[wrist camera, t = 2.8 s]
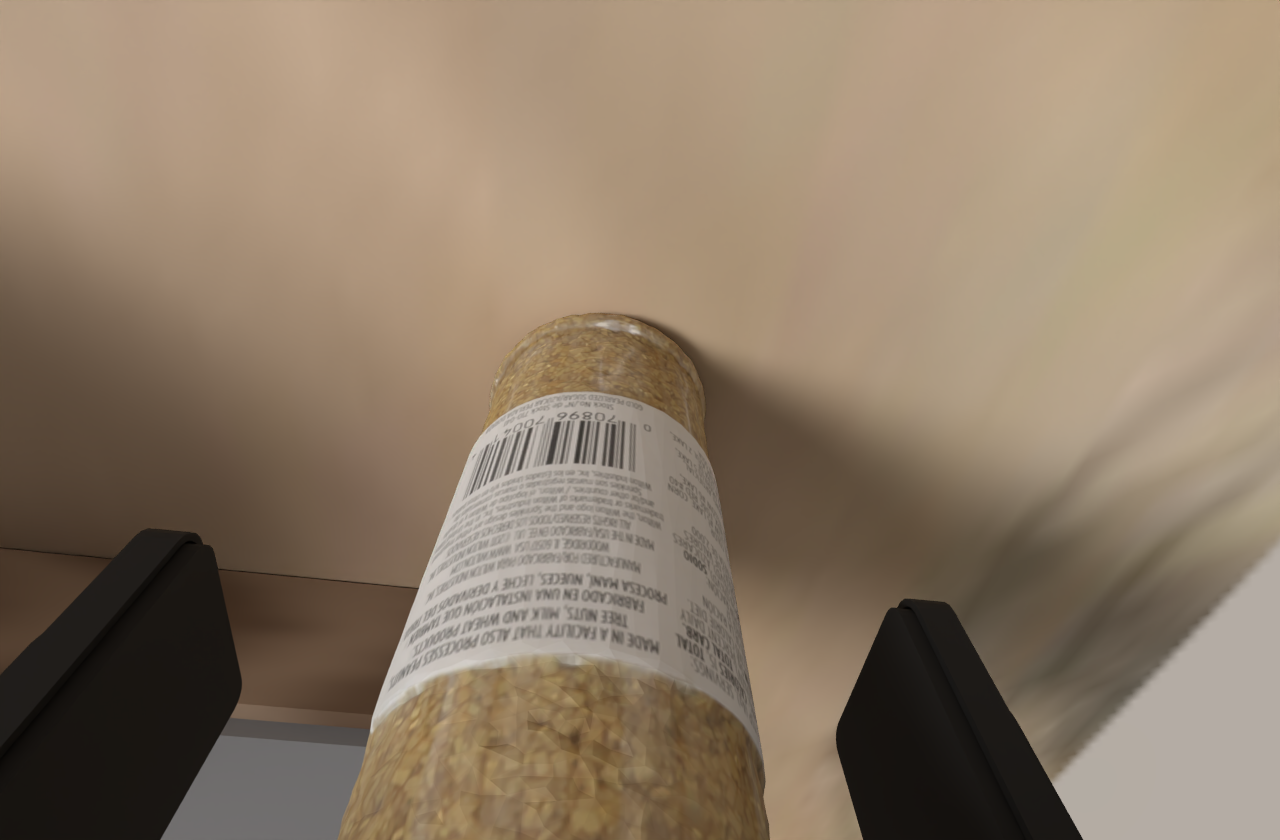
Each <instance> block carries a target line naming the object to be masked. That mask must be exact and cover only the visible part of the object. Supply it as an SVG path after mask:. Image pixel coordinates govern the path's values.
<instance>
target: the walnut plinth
mask: <svg viewBox="0 0 1280 840" xmlns="http://www.w3.org/2000/svg"><path fill="white" fill-rule="evenodd" d="M112 560H113V559H103V558H93V557H83V556H73V555H62V554H52V553H42V552H31V551H21V550H11V549H1V548H0V675H1V674H2V672H3V671H4V670H5V669H6V668H7V667H8V666H9V665H10V664H11V663H12V662H13V661H14V660H15V659H16V658H17V657H18V656H19V655H20V654H21V653H22V652H23V651H24V650H25V648H26V647H27V646H28V645H29V644H30V643H31V642H33V641H34V640H35V639H36V638H37V637H38V636H40V635H41V634H42V633H43V632H44V631H45V630H46V629H47V628H48V627H49V626H50V625H51V624H52V623H53V622H54V621H55V620H56V619H57V618H58V617H59V616H60V615H61V614H62V612H63V611H64V610H65V609H66V608H67V607H68V606H69V605H70V604H71V603H72V602H73V601H74V600H75V599H76V598H77V597H78V596H79V595H80V594H81V593H82V592H83V590H84V589H85V588H86V587H87V586H88V585H89V584H90V583H91V582H92V581H93V580H94V579H95V578H96V577H97V576H98V575H99V574H100V573H101V572H102V571H103V570H104V568H105V567H106V566H107V565H108V564H109V563H110V562H111V561H112ZM218 572H219V577H220V581H221V586H222V590H223V595H224V600H225V604H226V609H227V613H228V618H229V622H230V627H231V631H232V636H233V640H234V645H235V650H236V654H237V659H238V663H239V668H240V672H241V677H242V690H241V694H240V698H239V701H238V703H237V705H236V708H235V710H234V711H233V713H232V715H231V717H230V718H229V720H228V722H227V724H226V725H225V727H224V729H223V731H222V732H221V734H220V736H219V738H218V739H217V741H216V743H215V745H214V746H213V748H212V750H211V752H210V753H209V755H208V757H207V759H206V761H205V762H204V764H203V766H202V768H201V769H200V771H199V773H198V775H197V776H196V778H195V780H194V782H193V783H192V785H191V787H190V789H189V790H188V792H187V794H186V796H185V797H184V799H183V801H182V803H181V804H180V806H179V808H178V810H177V811H176V813H175V815H174V817H173V818H172V820H171V822H170V824H169V825H168V827H167V829H166V831H165V832H164V834H163V836H162V838H161V839H160V840H337V839H338V836H339V832H340V827H341V822H342V818H343V815H344V813H345V810H346V808H347V805H348V803H349V800H350V797H351V794H352V790H353V788H354V785H355V783H356V781H357V778H358V776H359V773H360V771H361V768H362V763H363V759H364V755H365V750H366V746H367V742H368V738H369V734H370V728H371V721H372V716H373V713H374V710H375V707H376V704H377V701H378V698H379V695H380V692H381V689H382V686H383V684H384V681H385V678H386V676H387V673H388V670H389V668H390V665H391V662H392V660H393V657H394V654H395V652H396V649H397V647H398V644H399V642H400V639H401V636H402V633H403V631H404V628H405V625H406V622H407V619H408V616H409V614H410V611H411V608H412V606H413V603H414V601H415V598H416V595H417V592H418V590H419V589H412V588H401V587H391V586H381V585H371V584H360V583H350V582H340V581H329V580H319V579H309V578H299V577H288V576H278V575H268V574H258V573H247V572H237V571H227V570H218Z"/></svg>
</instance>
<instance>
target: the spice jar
mask: <svg viewBox="0 0 1280 840" xmlns="http://www.w3.org/2000/svg"><path fill="white" fill-rule="evenodd" d="M489 410H490V412H489V415H488V417H487V420H486V422H485V424H484V428H483V431H482V434H481V436H480V437H479V438H478V440H477V441H476V443H475V444H474V446H473V448H472V450H471V452H470V455H469V457H468V460H467V463H466V465H465V468H464V470H463V473H462V476H461V478H460V481H459V484H458V486H457V489H456V491H455V494H454V497H453V500H452V502H451V505H450V507H449V510H448V513H447V516H446V519H445V521H444V524H443V526H442V528H441V531H440V534H439V536H438V539H437V542H436V544H435V547H434V550H433V552H432V555H431V558H430V560H429V563H428V565H427V568H426V571H425V573H424V576H423V578H422V581H421V584H420V587H419V590H418V592H417V595H416V598H415V601H414V603H413V606H412V608H411V611H410V614H409V616H408V619H407V622H406V625H405V628H404V631H403V633H402V636H401V639H400V642H399V644H398V647H397V649H396V652H395V654H394V657H393V660H392V662H391V665H390V668H389V670H388V673H387V676H386V678H385V681H384V684H383V686H382V689H381V692H380V695H379V698H378V701H377V704H376V707H375V710H374V713H373V716H372V721H371V728H370V734H369V738H368V742H367V746H366V750H365V755H364V759H363V763H362V768H361V771H360V773H359V776H358V778H357V781H356V783H355V785H354V788H353V790H352V794H351V797H350V800H349V803H348V805H347V808H346V810H345V813H344V815H343V818H342V822H341V827H340V832H339V836H338V839H337V840H770V836H769V823H768V819H767V815H766V810H765V805H764V799H763V794H764V788H765V772H764V762H763V755H762V750H761V744H760V738H759V732H758V726H757V720H756V715H755V709H754V703H753V697H752V691H751V685H750V680H749V674H748V668H747V662H746V656H745V650H744V645H743V639H742V633H741V627H740V621H739V615H738V609H737V603H736V597H735V592H734V586H733V580H732V574H731V568H730V562H729V555H728V549H727V543H726V536H725V530H724V523H723V517H722V511H721V505H720V499H719V493H718V488H717V483H716V479H715V475H714V472H713V469H712V466H711V464H710V462H709V456H708V451H707V442H706V437H705V432H704V419H705V414H706V401H705V395H704V389H703V385H702V383H701V381H700V379H699V376H698V373H697V371H696V369H695V367H694V364H693V362H692V361H691V359H690V358H689V357H688V356H686V355H685V353H684V352H683V351H682V350H681V349H680V347H679V346H678V345H677V344H676V343H675V342H673V341H672V340H671V339H669V338H668V337H666V336H665V335H664V334H663V333H661V332H660V331H659V330H657V329H656V328H654V327H651V326H648V325H646V324H644V323H642V322H641V321H638V320H635V319H632V318H629V317H627V316H624V315H613V314H604V313H588V314H584V315H580V316H579V315H571V316H567V317H563V318H560V319H556V320H555V321H553V322H550V323H548V324H545V325H543V326H540V327H538V328H537V329H535V330H534V331H532V332H530V333H528V334H527V335H526V336H525V337H524V338H523V339H522V340H521V341H520V342H519V343H518V344H517V345H516V346H515V348H514V349H513V350H512V351H511V352H510V353H508V354H507V355H506V356H505V358H504V360H503V362H502V364H501V366H500V368H499V370H498V372H497V373H496V376H495V379H494V381H493V384H492V388H491V393H490V401H489Z"/></svg>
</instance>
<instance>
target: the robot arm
mask: <svg viewBox="0 0 1280 840" xmlns="http://www.w3.org/2000/svg"><path fill="white" fill-rule="evenodd" d="M241 690H242V677H241V672H240V668H239V663H238V659H237V654H236V650H235V645H234V640H233V636H232V631H231V627H230V622H229V618H228V613H227V609H226V604H225V600H224V595H223V590H222V586H221V581H220V577H219V572H218V568H217V563H216V559H215V554H214V551H213V548H212V547H211V546H209V545H203V543H202V540H201V538H200V537H199V536H198V535H197V534H196V533H192V532H182V531H171V530H160V529H146V530H143V531H141V532H140V533H139V534H137V535H136V536H135V537H134V538H133V539H132V540H131V541H130V542H129V543H128V544H127V545H126V546H125V548H124V549H123V550H122V551H121V552H120V553H119V554H118V555H117V556H116V557H115V558H114V559H113V560H112V561H111V562H110V563H109V564H108V565H107V566H106V567H105V568H104V570H103V571H102V572H101V573H100V574H99V575H98V576H97V577H96V578H95V579H94V580H93V581H92V582H91V583H90V584H89V585H88V586H87V587H86V588H85V589H84V590H83V592H82V593H81V594H80V595H79V596H78V597H77V598H76V599H75V600H74V601H73V602H72V603H71V604H70V605H69V606H68V607H67V608H66V609H65V610H64V611H63V612H62V614H61V615H60V616H59V617H58V618H57V619H56V620H55V621H54V622H53V623H52V624H51V625H50V626H49V627H48V628H47V629H46V630H45V631H44V632H43V633H42V634H41V635H40V636H38V637H37V638H36V639H35V640H34V641H33V642H31V643H30V644H29V645H28V646H27V647H26V648H25V650H24V651H23V652H22V653H21V654H20V655H19V656H18V657H17V658H16V659H15V660H14V661H13V662H12V663H11V664H10V665H9V666H8V667H7V668H6V669H5V670H4V671H3V672H2V674H1V675H0V840H160V839H161V838H162V836H163V834H164V832H165V831H166V829H167V827H168V825H169V824H170V822H171V820H172V818H173V817H174V815H175V813H176V811H177V810H178V808H179V806H180V804H181V803H182V801H183V799H184V797H185V796H186V794H187V792H188V790H189V789H190V787H191V785H192V783H193V782H194V780H195V778H196V776H197V775H198V773H199V771H200V769H201V768H202V766H203V764H204V762H205V761H206V759H207V757H208V755H209V753H210V752H211V750H212V748H213V746H214V745H215V743H216V741H217V739H218V738H219V736H220V734H221V732H222V731H223V729H224V727H225V725H226V724H227V722H228V720H229V718H230V717H231V715H232V713H233V711H234V710H235V708H236V705H237V703H238V701H239V698H240V694H241ZM836 744H837V750H838V754H839V758H840V761H841V765H842V768H843V771H844V775H845V778H846V782H847V785H848V789H849V792H850V796H851V799H852V802H853V806H854V809H855V813H856V816H857V820H858V823H859V827H860V830H861V833H862V837H863V840H1083V839H1082V837H1081V835H1080V833H1079V831H1078V830H1077V828H1076V826H1075V824H1074V823H1073V821H1072V819H1071V817H1070V815H1069V814H1068V812H1067V810H1066V808H1065V806H1064V805H1063V803H1062V801H1061V799H1060V798H1059V796H1058V794H1057V792H1056V790H1055V789H1054V787H1053V785H1052V783H1051V781H1050V780H1049V778H1048V776H1047V774H1046V772H1045V771H1044V769H1043V767H1042V765H1041V763H1040V762H1039V760H1038V758H1037V756H1036V755H1035V753H1034V751H1033V749H1032V747H1031V746H1030V744H1029V742H1028V740H1027V738H1026V737H1025V735H1024V733H1023V731H1022V730H1021V728H1020V726H1019V724H1018V722H1017V721H1016V719H1015V718H1014V716H1013V715H1012V713H1011V712H1010V711H1009V709H1008V707H1007V706H1006V704H1005V702H1004V700H1003V698H1002V697H1001V695H1000V693H999V691H998V689H997V688H996V686H995V684H994V682H993V680H992V679H991V677H990V675H989V673H988V671H987V670H986V668H985V666H984V664H983V662H982V661H981V659H980V657H979V655H978V653H977V652H976V650H975V648H974V646H973V645H972V643H971V641H970V639H969V637H968V636H967V634H966V632H965V630H964V628H963V627H962V625H961V623H960V621H959V619H958V618H957V616H956V614H955V612H954V611H953V609H952V608H951V607H950V605H948V604H947V603H945V602H938V601H927V600H916V599H904V600H903V601H901V602H900V604H899V606H898V607H897V608H890V609H889V610H888V612H887V613H886V615H885V618H884V620H883V622H882V624H881V627H880V629H879V631H878V634H877V636H876V638H875V640H874V643H873V645H872V647H871V650H870V652H869V654H868V656H867V659H866V661H865V663H864V666H863V668H862V670H861V673H860V675H859V677H858V679H857V682H856V684H855V686H854V689H853V691H852V693H851V695H850V698H849V700H848V702H847V705H846V707H845V709H844V711H843V714H842V716H841V718H840V721H839V723H838V726H837V731H836Z"/></svg>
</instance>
